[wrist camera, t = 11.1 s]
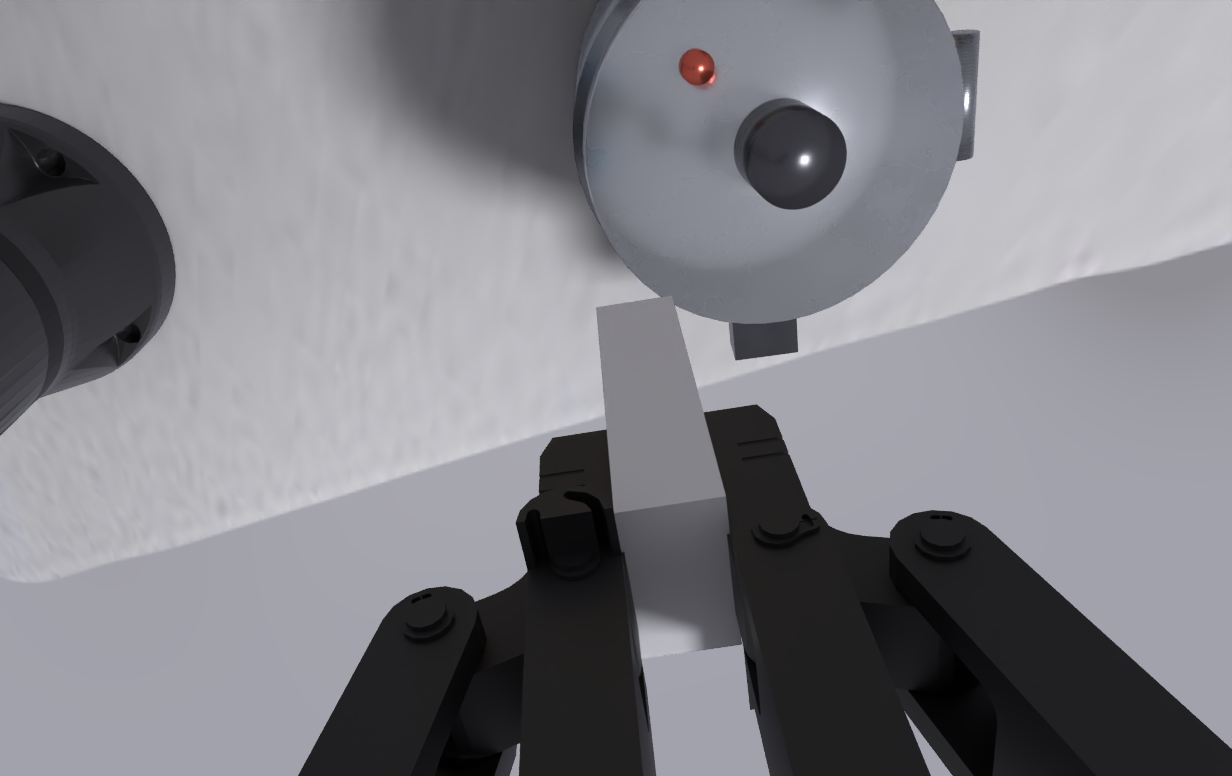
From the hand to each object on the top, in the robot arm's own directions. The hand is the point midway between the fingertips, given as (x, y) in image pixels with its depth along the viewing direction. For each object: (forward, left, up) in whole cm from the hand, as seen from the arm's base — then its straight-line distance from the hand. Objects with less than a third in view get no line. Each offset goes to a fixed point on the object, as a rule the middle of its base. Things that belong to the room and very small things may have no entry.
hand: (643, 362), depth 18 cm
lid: (+6, -1, -20) cm, 21 cm away
